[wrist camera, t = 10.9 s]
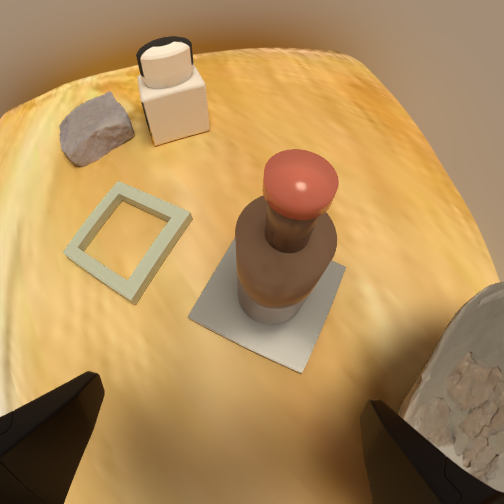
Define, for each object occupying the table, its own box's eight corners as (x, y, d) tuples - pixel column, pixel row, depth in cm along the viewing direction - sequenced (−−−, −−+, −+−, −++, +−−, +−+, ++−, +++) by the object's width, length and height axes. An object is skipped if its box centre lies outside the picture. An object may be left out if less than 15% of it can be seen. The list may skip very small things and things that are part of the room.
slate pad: (300, 373, 21) (301, 373, 21) (188, 318, 23) (187, 317, 23) (344, 269, 25) (346, 266, 25) (244, 224, 27) (244, 221, 27)
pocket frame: (135, 304, 23) (131, 300, 22) (68, 258, 25) (62, 252, 24) (192, 219, 27) (190, 212, 26) (121, 187, 29) (118, 180, 28)
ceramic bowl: (288, 393, 20) (321, 394, 12) (472, 284, 25) (532, 240, 16) (370, 568, 11) (415, 613, 2) (524, 437, 16) (583, 429, 7)
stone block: (83, 183, 32) (143, 134, 33) (61, 162, 28) (126, 108, 29) (68, 143, 37) (117, 103, 38) (52, 124, 32) (104, 82, 33)
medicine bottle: (147, 117, 35) (129, 42, 24) (197, 103, 36) (189, 27, 25) (154, 147, 32) (131, 62, 21) (210, 131, 33) (202, 44, 23)
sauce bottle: (267, 338, 22) (301, 262, 9) (224, 287, 24) (206, 165, 11) (316, 297, 24) (389, 189, 11) (274, 251, 25) (300, 118, 13)
